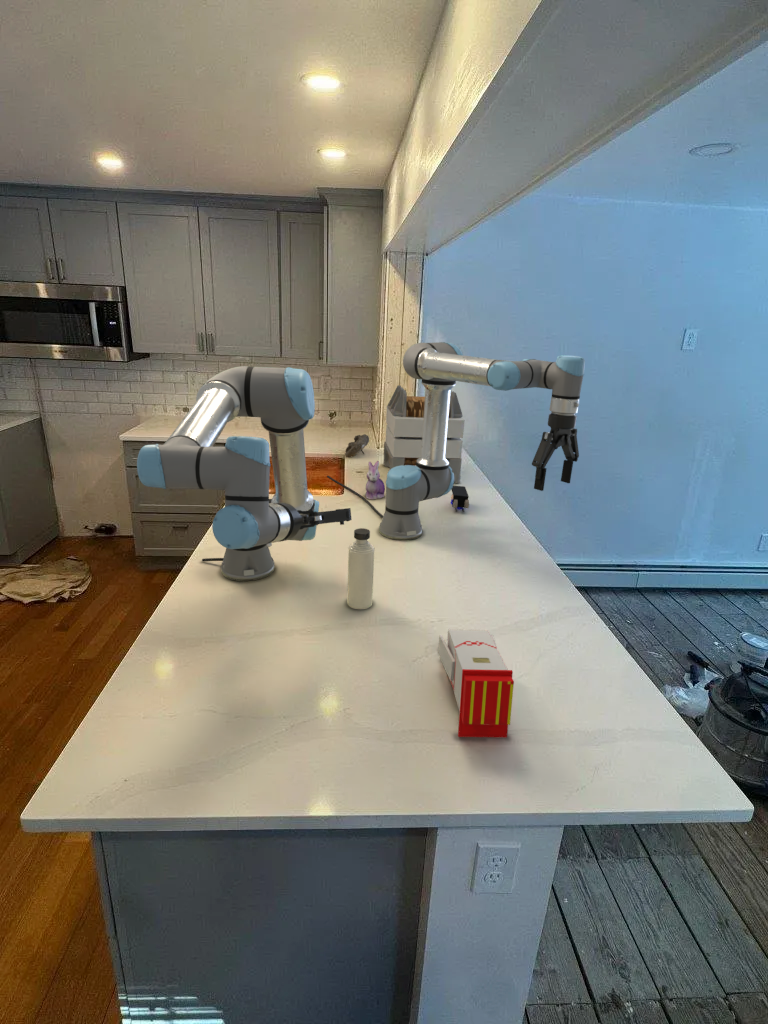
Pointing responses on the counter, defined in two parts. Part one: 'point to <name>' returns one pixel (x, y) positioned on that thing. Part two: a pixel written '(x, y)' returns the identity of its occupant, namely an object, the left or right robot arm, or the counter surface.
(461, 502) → the figurine character
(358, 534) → the cap
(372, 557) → the bottle
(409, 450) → the transformer
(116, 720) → the counter surface
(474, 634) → the toy
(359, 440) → the fossil
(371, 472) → the figurine
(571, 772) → the counter surface
